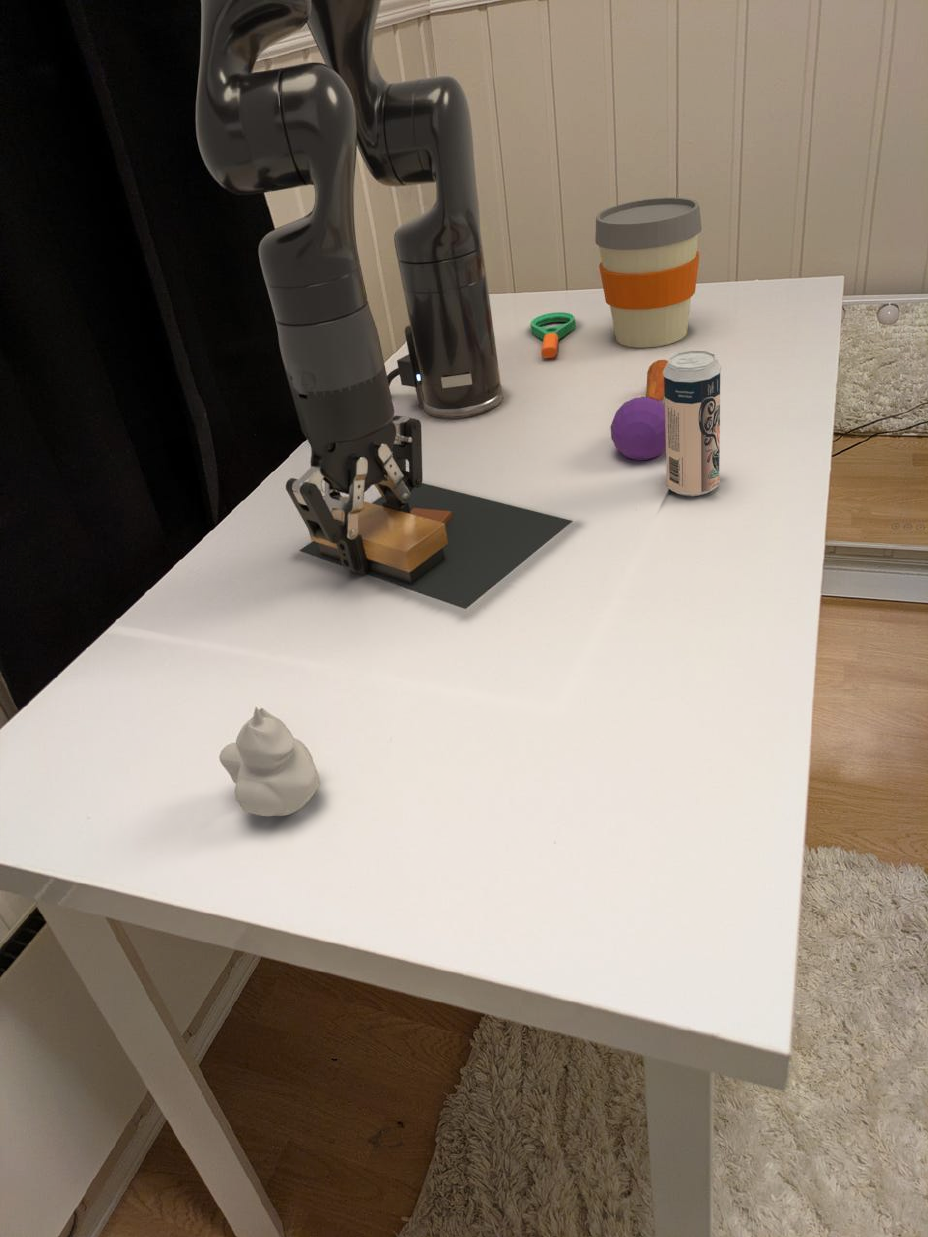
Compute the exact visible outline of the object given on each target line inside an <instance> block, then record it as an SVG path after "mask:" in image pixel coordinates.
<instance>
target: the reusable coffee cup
mask: <svg viewBox="0 0 928 1237" xmlns="http://www.w3.org/2000/svg"><path fill="white" fill-rule="evenodd" d="M702 228H703V226H702V219H701V208H700V203H699V202H698V200H695V199H692V198H686V197H677V196H676V197H675V196H673V197H655V198H646V199H639V200H633V201H628V202H624V203H620V204H619V203H618V204H616V205H614V206H610V207H608V208H605V209H603V210H601V211H600V212H598V213H597V215H596V216H595V236H594V237H595V238H594V239H595V244H596V245H597V246H598V248H599V254H600V260H601V261H600V262H599V265H598V267H599V274H600V278H601V283H602V288H603V289H602V290H603V293H604V299H605V303H606V304H607V305H608V306H609V308H610V312H611V313H610V314H611V319H612V323H613V324H612V325H613V330H614V333H615V334H614V335H615V340H616V342H617V343H618V344H620V345H621V346H624V347H628V348H637V349H640V348H641V349H646V348H657V347H658V348H659V347H663V346H667V345H670V344H673V343H677V342H679V341H680V340H683V338H685V337H686V336H687V334H688V328H689V327H688V326H689V319H690V318H689V317H690V311H691V301H692V297H693V296H694V295H695V294H696V288H697V279H698V270H699V262H700V252H699V251H698V250H697V249H698V240H699V234H700V233H701V232H702Z"/></svg>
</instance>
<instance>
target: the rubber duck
mask: <svg viewBox="0 0 928 1237" xmlns="http://www.w3.org/2000/svg"><path fill="white" fill-rule="evenodd" d="M218 758H219V762H220V763H221V765H222V767H224V769H225V770H226V772H228V774H229V776H230V778H231V781H232V782H233V783H234V784H235V785H234V796H235V799H236V801H237V803H238V805H239V807H240V808H241V809H242V810H243V811H244V812H245V813H248V814H253V815H257V816H261V817H273V816H276V817H285V816H289V815H292V814H293V813H295V812H297V811H299V810H300V809H301V808H303V807H304V806H305V805H306V804H307V803H308V802H309V801H310V800H311V799H312V797H313V796H314V795H315V793H316V792H317V790H318V789H319V786H320V785H321V779H320V775H319V773H318V772H319V771H318V769H317V767H316V764H315V761H314V758H313V755H312V753H311V752H310V750H309V749H308V747H307V746H306V744H304V743H303V742H302V741H301V740H300V739H298V738H295V737H294V736H293V734H292V732H291V731H290V729H289V728H288V727H287V725H286V723H285V722H284V721H282V720H281V719H280V718H279V717H277V716H275V715H273V714H271V713H269V711H267V710H266V709H265V708H262V707H260V708H258V707H257V706H255V709H254V712H253V716H252V717H251V718H250V719H248V720H247V722H245V723H244V724H243V726H242V727H241V728H240V730H239V732H238V734H237V736H236V739H235V742H231V743H229V744H227V745H226V746H224V747H223V749H221V751H220V752H219V756H218Z"/></svg>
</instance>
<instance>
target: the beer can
mask: <svg viewBox="0 0 928 1237" xmlns="http://www.w3.org/2000/svg"><path fill="white" fill-rule="evenodd" d="M667 361H668V363H667V365H666V367H665V369H664V371H663V375H664V394H665V396H664V405H665V431H666V450H665V461H666V462H665V464H666V465H665V466H666V467H665V468H666V487H667V488H668V490H670V491H671V492H673V493H675V494H677V495H680V496H683V497H700V496H704V495H706V494H709V493H710V492H713V491H714V490H715V489H717V488H718V487H719V485H720V483H721V478H720V461H721V460H720V459H721V458H720V450H721V449H720V446H721V445H720V444H721V441H720V440H721V437H720V436H721V372H722V365H721V364H720V362H719V360H718V358H717V357H716V354H715V353H712V352H709V351H707V350H688V351H683V352H682V351H681V352H677V353H675V354H674V355H672V356H670V357H669V358H668V360H667Z"/></svg>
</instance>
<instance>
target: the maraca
mask: <svg viewBox="0 0 928 1237" xmlns="http://www.w3.org/2000/svg"><path fill="white" fill-rule="evenodd" d="M668 361H669V360H667V359H658V360H656V361H653V362H652V363H651V364H650V365H649V367H648V369H647V371H646V390H645V396H641V397H634V398H632V399H630V400H628V401H627V400H626V401H625V402H624V403H622V405H621V406H620V407H618V409H617V410H616V411H615V414H614V416H613V419H612V421H611V424H610V438H611V440H612V443H613V445H614V447H615V448H616V450H618V451H619V452H620V453H621V454H622V455H623V456H625V457H626V458H628V459H632V460H634V461H648V460H650V459H654V458H657V457H660V456H661V455H662V454H663V453H665V452H666V431H665V403H663V402H662V400H664V399H665V394H664V375H663V371H664V369H665V367H666V365H667V363H668Z"/></svg>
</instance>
